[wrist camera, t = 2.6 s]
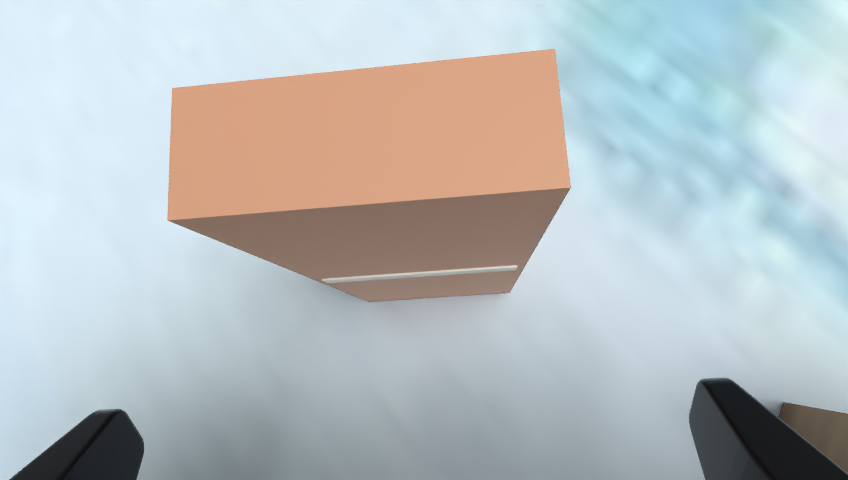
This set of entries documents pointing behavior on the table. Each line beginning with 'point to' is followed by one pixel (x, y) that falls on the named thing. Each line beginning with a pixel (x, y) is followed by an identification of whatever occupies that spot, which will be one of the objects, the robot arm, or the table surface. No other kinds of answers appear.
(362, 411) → the table surface
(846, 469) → the tile
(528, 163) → the end tile
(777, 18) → the table surface
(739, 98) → the table surface
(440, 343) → the table surface
